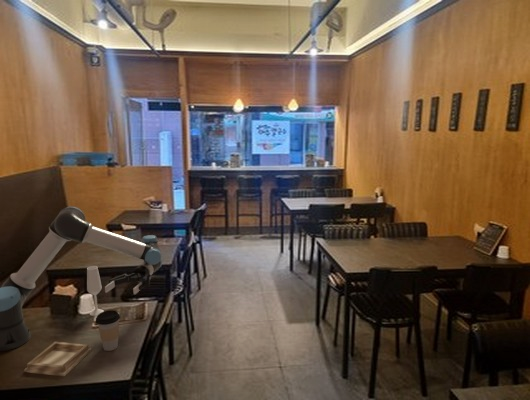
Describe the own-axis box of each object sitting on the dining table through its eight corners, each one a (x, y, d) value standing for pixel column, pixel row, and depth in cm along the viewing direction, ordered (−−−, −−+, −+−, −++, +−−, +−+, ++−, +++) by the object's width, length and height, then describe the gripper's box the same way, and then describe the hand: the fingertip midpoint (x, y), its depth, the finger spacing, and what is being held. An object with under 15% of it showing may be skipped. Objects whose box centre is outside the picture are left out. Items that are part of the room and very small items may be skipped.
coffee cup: (126, 347, 161) (123, 314, 158) (103, 356, 154) (100, 322, 151) (116, 338, 167) (114, 307, 164) (95, 346, 161) (91, 314, 158)
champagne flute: (96, 316, 186) (91, 271, 182) (86, 314, 189) (81, 269, 184) (107, 310, 193) (102, 266, 188) (97, 308, 195) (92, 264, 191)
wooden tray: (24, 371, 145) (23, 364, 144) (55, 346, 161) (54, 340, 161) (64, 376, 142) (63, 369, 141) (91, 350, 158) (91, 343, 158)
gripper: (167, 280, 186) (146, 300, 165) (120, 278, 190) (95, 296, 169) (165, 266, 184) (145, 284, 164) (118, 264, 188) (93, 281, 168)
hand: (119, 290), depth 166 cm, fingers open, 13 cm apart
